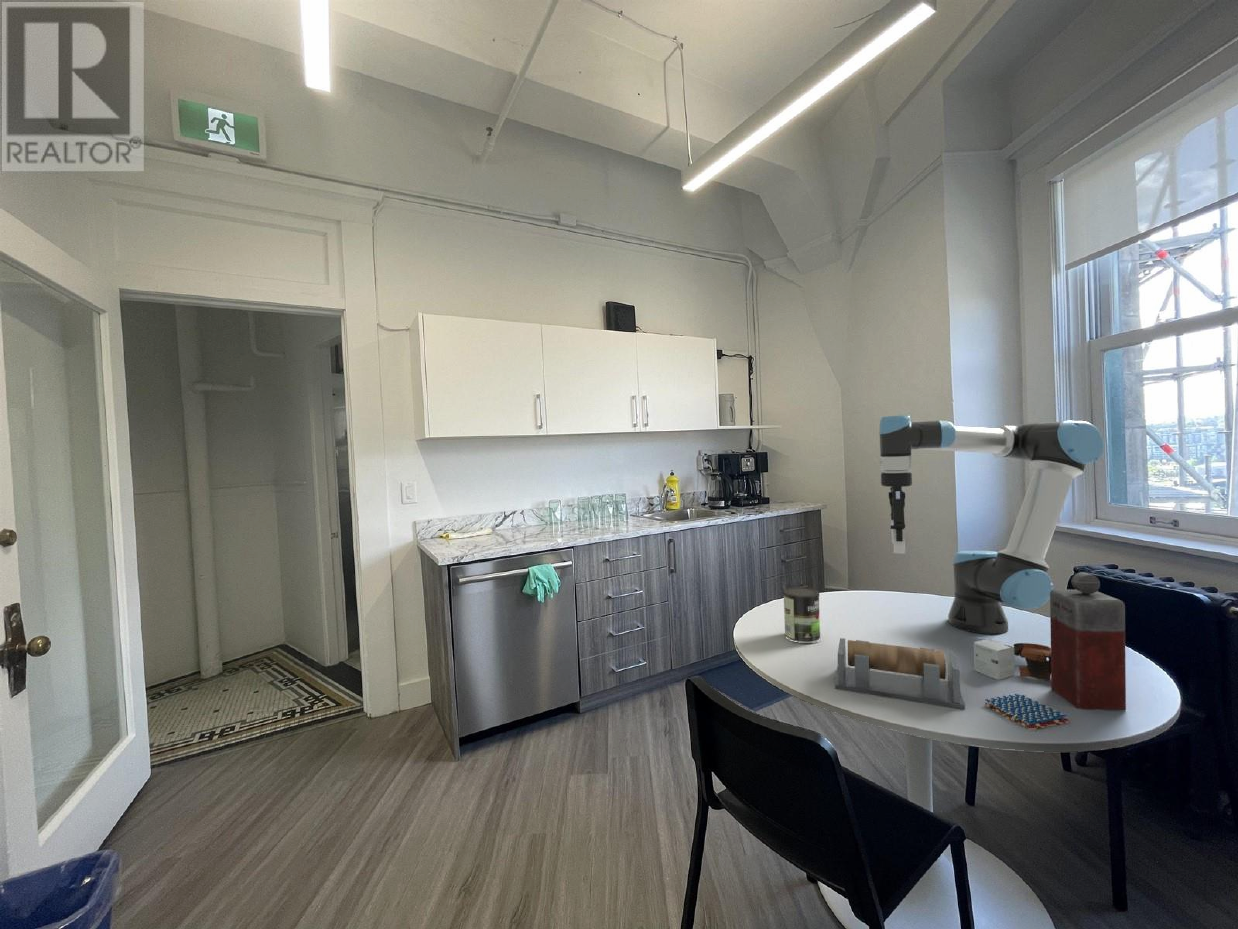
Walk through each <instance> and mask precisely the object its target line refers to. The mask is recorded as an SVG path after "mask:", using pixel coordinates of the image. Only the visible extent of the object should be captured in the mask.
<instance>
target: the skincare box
mask: <svg viewBox="0 0 1238 929" xmlns="http://www.w3.org/2000/svg"><path fill="white" fill-rule="evenodd" d="M973 670H974V671H975V672H978V673H980V674H983V675H985V676H987V677H989V678H992V679H995V680H997V681H999V680H1004V679H1006V678H1010V677H1013V676H1014V675H1015V655H1014V646H1013V645H1010V644H1007V643H1004V642H1001V641H998V640H995V639H992V638H987V639H983V640H978V641H975V642H973Z"/></svg>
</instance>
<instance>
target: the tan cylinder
mask: <svg viewBox="0 0 1238 929" xmlns="http://www.w3.org/2000/svg"><path fill="white" fill-rule="evenodd" d="M861 641H862V640H860V641H856V640H852V639H848V640H847V667H848V666H849V667H853V668H855V654H859V655H866V656H869V669H870V670H874V671H876V670H877V671H881V672H883V671H884V672H888V673H889V672H890V673H895V674H897V673H898V674H903V675H904V674H905V675H910V676H920V677H921V676H924V674H923V663H928V664H935V665H939V667H940V680H946V678H947V674H946V673H947V668H946V665H947V663H946V655H945V651H942V650H936V649H935V650H928V649H929V648H927V649H920V647H910V646H909V647H908V646H903V645H902V646H900V645H891V644H885V643H876V642H870V641H868V642H861Z"/></svg>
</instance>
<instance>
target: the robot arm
mask: <svg viewBox="0 0 1238 929" xmlns="http://www.w3.org/2000/svg"><path fill="white" fill-rule="evenodd" d="M878 434H879V452H880V459H878V461H877V463H878V464H880V470H881V471H882V472H881V473H880V484H881V486H883V487H887V488H888V487H890V488H889V489H890V491H889V492H888V500H889V506H890V509H891V510H890V519H891V520H890V524H891V525H890V530H891V544H893V554H902V555H903V554H904V555H905V554H906V529H905V528H906V524H905V523H906V522H905V511H904V510H905V506H906V504H905V503H906V502H905V500H906V492H905V491H903V490H902V489H903V487H911V486H912V485H913V474H912V472H911V471H912V470H913V465H912V463H913V460H912V450H926V451H929V450H930V451H931V450H932V451H948V452H962V453H963V452H965V453H984V454H986V453H987V454H992V455H993V456H995V457H1000V458H1010V459H1015V460H1023V461H1027V462H1028V461H1029V462H1030V463H1029V464H1031V466H1032V467H1033V469H1034V470H1033V474H1032V476H1031V480H1030V482H1029V485H1028V487H1027V490H1026V493H1025V495H1024V499H1023V501H1022V504H1021V507H1020V510H1019V512H1018V515H1017V518H1016V520H1015V524H1014V525H1013V529H1012V531H1011V534H1010V538H1009V539H1008V543H1007V546H1006V547H1005V548H1004V549H1002V550H998V551H992V550H960V551H958V552H955V554H954V555H953V563H952V565H953V583H954V584H953V586H954V590H953V591H954V598H953V602H952V603H951V606H950V609H949V612H948V614H947V615H948V617H947V618H948V623H949V624H950V625H951V626H952V627H955V628H958V629H960V630H964V631H968V632H972V633H976V634H977V633H979V634H990V635H991V634H992V635H993V634H995V635H997V634H1004V633H1006V632H1008V630H1009V621H1008V618H1007V616H1006V613H1005V612H1004V608H1003V606H1002V604H1005V605H1006V606H1008V607H1012V608H1017V609H1021V610H1024V611H1027V610H1028V611H1029V610H1030V611H1031V610H1035V609H1037V608H1040V607H1043V605H1045V604H1046V603H1047V602H1048V601H1050V592H1051V590H1054V584H1053V580H1052V578H1051V576H1050V575H1049V574H1048V570H1049V568H1050V566H1049V565H1048V564H1047V562H1046V560H1045V559H1046V555H1047V552H1048V550H1049V546H1050V544H1051V541H1052V538H1053V536H1054V532H1055V531H1056V528H1057V524H1058V522H1059V520H1060V516H1061V513H1062V510H1063V508H1064V504H1065V502H1066V499H1067V497H1068V493H1069V491H1070V488H1071V485H1072V483H1073V480H1074V479H1075V478H1076V477H1078V476H1081V475H1083V473H1084V471H1085V468H1086V466H1087V465H1090V464H1092V463H1095V462H1096V461H1097V460H1099V459H1100V458H1101V457H1102V456H1103V453H1104V450H1105V440H1104V437H1103V435H1102V434H1101V432H1100V430H1099V429H1098V428H1097V427H1096V426H1095V425H1094V424H1092V423H1090V422H1088V421H1083V420H1072V419H1071V420H1065V421H1047V422H1033V423H1025V424H1015V425H1004V424H1003V425H998V426H995V427H994V428H993V427H992V428H990V427H975V426H974V427H973V426H972V427H971V426H956V425H954V424H953V423H952V422H950V421H949V420H929V421H916V422H914V421H912V420H911V417H910V415H905V414H903V415H902V414H901V415H899V414H898V415H887V416H883V417H881V418H880V420H879V429H878Z"/></svg>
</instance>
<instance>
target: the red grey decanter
mask: <svg viewBox="0 0 1238 929" xmlns="http://www.w3.org/2000/svg"><path fill="white" fill-rule="evenodd" d="M1070 582H1071V585H1072V587H1073V589H1066V588H1065V589H1062V588H1061V589H1057V588H1056V589H1053V590H1051V592H1050V598H1049V608H1050V609H1049V612H1050V614H1049V615H1050V616H1049V617H1050V620H1049V621H1050V625H1049V626H1050V648H1051V676H1050V680H1051V686H1050V687H1051V690H1052V692H1055V693H1056V694H1057V695H1059V697H1061V698H1062V699H1064V700H1065V701H1067V702H1068V703H1069V704H1071V705H1072V706H1073V705H1074V707H1075V708H1076V709H1078V708H1081V709H1080V710H1093V709H1095V711H1096V709H1099V710H1100V709H1102V710H1100V711H1116V710H1126V711H1127V703H1126V701H1127V694H1126V693H1127V692H1126V691H1127V688H1126V686H1127V685H1126V684H1127V683H1126V682H1127V680H1126V679H1127V678H1126V605H1125V602H1123V600H1120V599H1119V598H1116V597H1113V596H1111V595H1108V594H1105V593H1103V592H1100V591H1099V589H1100V588H1101V582H1100V580H1099V578H1098V577H1096V575H1093V574H1090V573H1087V572H1078V573H1075V574H1074V575H1073V576H1072V577H1071V581H1070Z"/></svg>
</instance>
